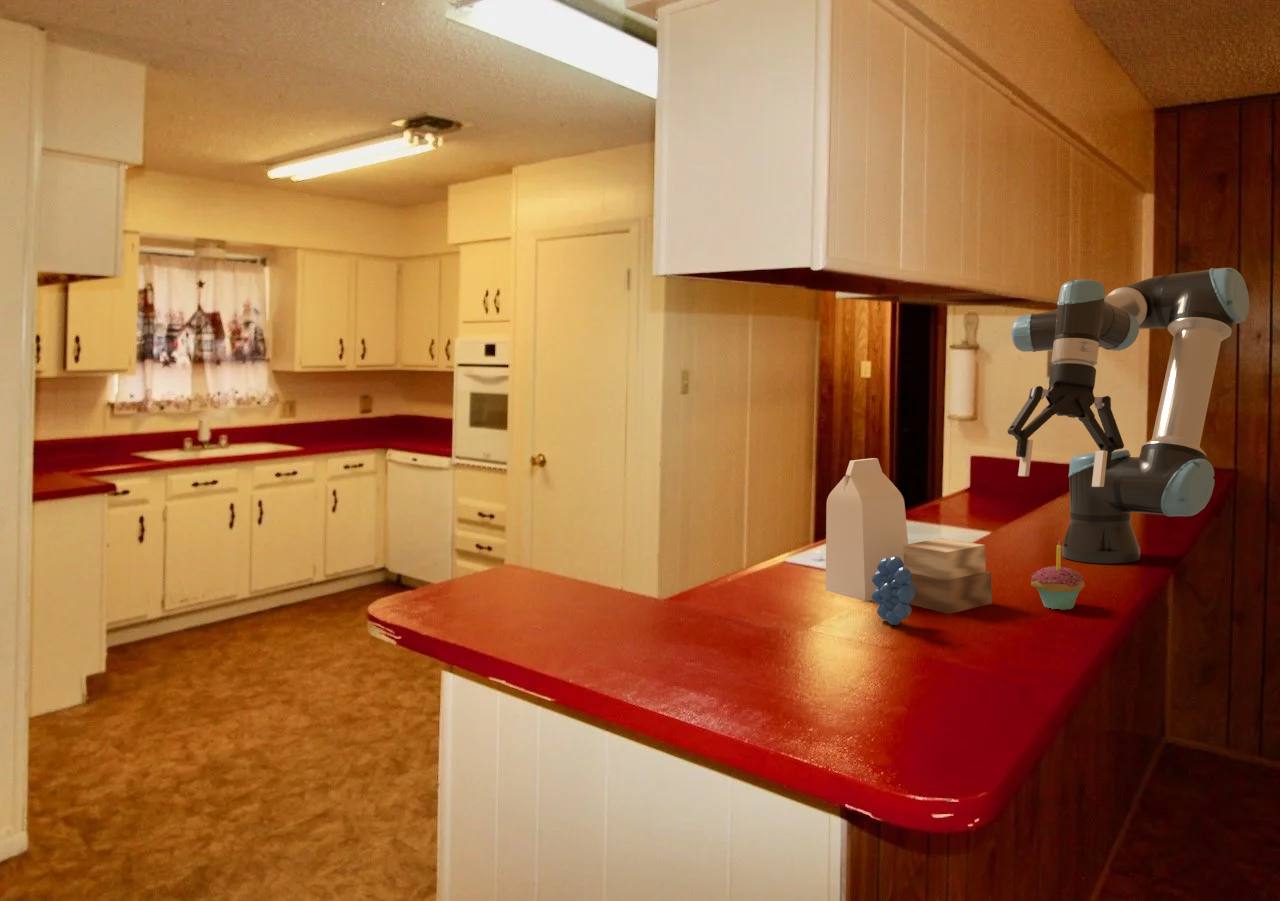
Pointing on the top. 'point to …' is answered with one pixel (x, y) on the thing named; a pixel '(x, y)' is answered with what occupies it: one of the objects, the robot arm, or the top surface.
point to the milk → (862, 529)
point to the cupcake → (1058, 585)
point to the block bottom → (952, 592)
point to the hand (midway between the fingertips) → (1060, 481)
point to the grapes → (893, 590)
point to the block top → (945, 558)
